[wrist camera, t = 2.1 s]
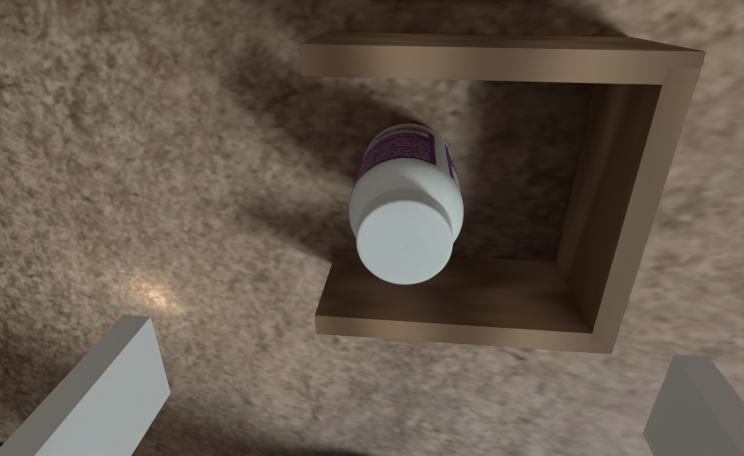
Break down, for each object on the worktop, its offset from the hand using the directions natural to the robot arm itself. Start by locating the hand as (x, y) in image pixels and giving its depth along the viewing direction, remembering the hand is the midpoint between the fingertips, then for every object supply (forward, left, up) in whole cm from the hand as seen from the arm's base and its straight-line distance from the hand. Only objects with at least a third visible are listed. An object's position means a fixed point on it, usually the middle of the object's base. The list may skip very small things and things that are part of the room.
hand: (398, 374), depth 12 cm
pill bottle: (0, 0, -17) cm, 17 cm away
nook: (+2, -2, -17) cm, 17 cm away
